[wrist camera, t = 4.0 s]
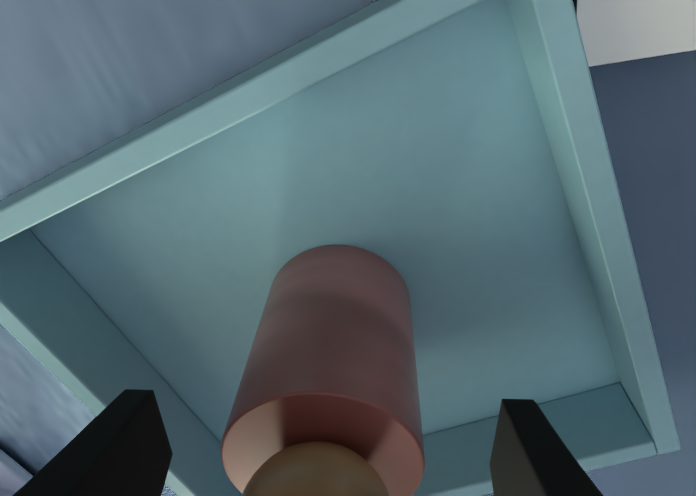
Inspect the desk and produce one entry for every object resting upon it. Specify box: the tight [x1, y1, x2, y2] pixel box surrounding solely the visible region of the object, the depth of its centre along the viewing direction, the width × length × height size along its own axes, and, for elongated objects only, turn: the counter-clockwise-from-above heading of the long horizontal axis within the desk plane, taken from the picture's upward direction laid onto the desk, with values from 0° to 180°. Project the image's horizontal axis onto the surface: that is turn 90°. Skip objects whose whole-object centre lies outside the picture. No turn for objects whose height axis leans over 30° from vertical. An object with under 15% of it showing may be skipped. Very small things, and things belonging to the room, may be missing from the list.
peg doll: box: [221, 245, 425, 496], centre depth 11 cm, size 4×4×8 cm
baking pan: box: [0, 0, 681, 496], centre depth 13 cm, size 14×13×2 cm
